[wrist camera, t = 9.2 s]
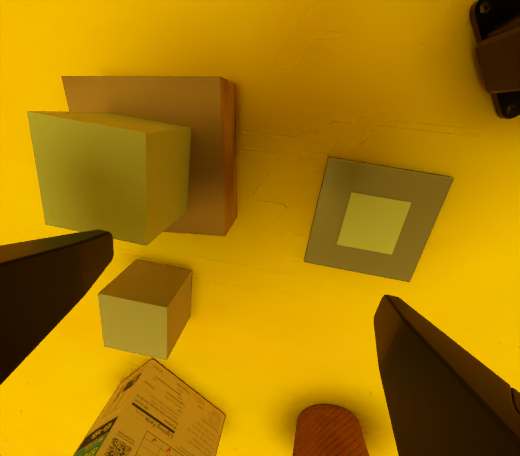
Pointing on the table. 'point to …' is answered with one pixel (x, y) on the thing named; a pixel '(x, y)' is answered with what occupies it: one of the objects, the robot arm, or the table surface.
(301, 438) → the disposable coffee cup
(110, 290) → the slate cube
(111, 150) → the sage cube
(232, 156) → the walnut block
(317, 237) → the swatch card
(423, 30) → the table surface
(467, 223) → the table surface
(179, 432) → the light bulb box
